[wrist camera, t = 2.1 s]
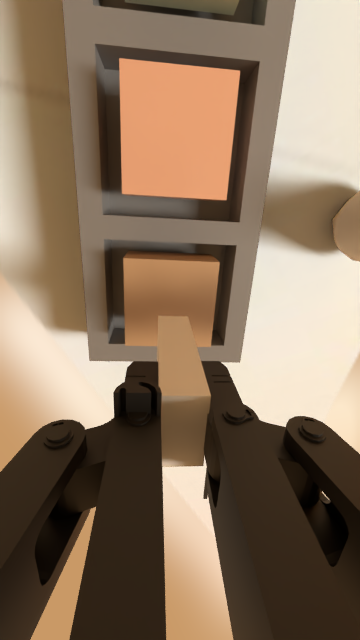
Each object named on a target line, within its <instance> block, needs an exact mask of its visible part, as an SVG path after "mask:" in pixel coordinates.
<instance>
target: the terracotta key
mask: <svg viewBox="0 0 360 640" xmlns="http://www.w3.org/2000/svg"><path fill="white" fill-rule="evenodd" d="M119 72H120V121H121V169H122V194H124V195H127V196H140V197H156V198H173V199H189V200H205V201H224V200H227V191H228V181H229V172H230V163H231V153H232V144H233V135H234V125H235V116H236V107H237V97H238V88H239V79H240V71H238V70H229V69H219V68H209V67H200V66H190V65H180V64H171V63H161V62H151V61H142V60H132V59H122V58H119Z"/></svg>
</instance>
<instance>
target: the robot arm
mask: <svg viewBox="0 0 360 640" xmlns="http://www.w3.org/2000/svg"><path fill="white" fill-rule="evenodd" d="M204 454H205V460H206V465H207V470H206V478H205V487H204V499H207V495H208V497H209V503H210V509H211V514H212V520H213V526H214V531H215V537H216V543H217V548H218V553H219V559H220V565H221V571H222V577H223V582H224V588H225V594H226V599H227V605H228V611H229V616H230V622H231V627H232V633H233V639H234V640H360V454H359V453H358V452H357V451H355V450H354V449H353V448H352V447H351V446H350V445H349V444H348V443H347V442H345V441H344V440H343V439H342V438H341V437H340V436H339V435H338V434H336V433H335V432H334V431H333V430H332V429H331V428H330V427H328V426H327V425H325V424H324V423H323V422H321V421H318V420H316V419H314V418H310V417H305V416H296V417H293V418H291V419H289V421H288V422H287V425H286V427H282V426H278V425H273V424H269V423H266V422H263V421H260V420H259V418H258V416H257V415H256V413H255V412H254V411H253V410H252V409H251V408H249V407H248V406H246V405H244V404H243V403H242V401H241V398H240V396H239V394H238V392H237V389H236V387H235V385H234V383H233V380H232V378H231V377H230V374H229V371H228V369H227V367H226V366H224V365H223V364H222V363H221V362H220V361H201V360H200V356H199V353H198V349H197V346H196V343H195V339H194V336H193V332H192V329H191V325H190V322H189V318H188V316H158V346H157V361H133V362H132V364H131V365H130V366H129V367H128V368H127V372H126V377H125V382H124V383H122V384H121V385H119V386H118V387H117V388H116V389H115V391H114V418H113V419H112V420H111V421H109V422H107V423H105V424H104V425H101V426H98V427H94V428H90V429H86V430H85V428H84V427H83V425H82V424H80V422H77V421H74V420H59V421H54V422H51V423H49V424H47V425H45V426H43V427H42V428H41V429H39V430H38V431H37V432H36V433H35V434H34V435H33V436H32V437H31V438H30V439H29V441H28V442H27V443H26V444H25V445H24V446H23V447H22V448H21V450H20V451H19V452H18V453H17V454H16V455H15V456H14V457H13V459H12V460H11V461H10V462H9V463H8V464H7V465H6V466H5V468H4V469H3V470H2V471H1V472H0V640H30V639H31V637H32V635H33V632H34V630H35V628H36V626H37V624H38V622H39V620H40V617H41V615H42V613H43V611H44V609H45V607H46V605H47V602H48V600H49V598H50V596H51V594H52V592H53V590H54V587H55V585H56V583H57V581H58V579H59V576H60V574H61V572H62V570H63V568H64V566H65V564H66V562H67V559H68V557H69V555H70V553H71V551H72V549H73V547H74V545H75V542H76V540H77V538H78V536H79V534H80V532H81V530H82V527H83V525H84V523H85V521H86V519H87V517H88V515H89V512H90V509H91V508H93V507H96V511H95V516H94V521H93V526H92V531H91V536H90V541H89V546H88V550H87V556H86V561H85V566H84V570H83V575H82V581H81V585H80V590H79V595H78V600H77V605H76V610H75V615H74V620H73V625H72V630H71V635H70V640H166V615H165V572H164V529H163V485H162V467H176V466H203V463H204ZM322 491H323V492H324V494H325V495H326V496H327V497H328V498H329V500H328V499H327V498H326V497H325V496H324V495H323V493H322Z"/></svg>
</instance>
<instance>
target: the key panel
mask: <svg viewBox="0 0 360 640" xmlns="http://www.w3.org/2000/svg"><path fill="white" fill-rule="evenodd" d="M62 2H63V16H64V29H65V42H66V55H67V69H68V82H69V95H70V108H71V122H72V135H73V148H74V161H75V175H76V188H77V201H78V214H79V228H80V241H81V254H82V267H83V281H84V294H85V307H86V320H87V334H88V347H89V360H90V361H157V346H125V314H124V265H123V258H124V256H125V255H126V253H127V252H128V251H150V252H172V253H195V254H211V255H212V256H214V257H215V258H216V259H217V260H218V261H219V262H220V265H219V275H218V284H217V293H216V303H215V312H214V322H213V331H212V340H211V347H197V349H198V353H199V356H200V360H201V361H220V362H240V359H241V352H242V346H243V339H244V333H245V326H246V320H247V313H248V307H249V300H250V294H251V287H252V281H253V274H254V268H255V261H256V255H257V248H258V242H259V235H260V229H261V222H262V216H263V209H264V203H265V196H266V190H267V183H268V177H269V170H270V164H271V157H272V151H273V144H274V138H275V131H276V125H277V119H278V112H279V106H280V99H281V93H282V86H283V80H284V73H285V67H286V60H287V54H288V47H289V41H290V34H291V28H292V21H293V15H294V8H295V2H296V0H239V3H238V5H237V8H236V10H235V13H234V15H226V14H218V13H210V12H201V11H193V10H185V9H177V8H168V7H160V6H152V5H143V4H135V3H127V2H125V0H62ZM119 58H122V59H132V60H142V61H151V62H161V63H171V64H180V65H190V66H200V67H209V68H219V69H229V70H238V71H240V79H239V88H238V97H237V107H236V116H235V125H234V135H233V144H232V153H231V163H230V172H229V181H228V191H227V200H224V201H205V200H189V199H173V198H156V197H140V196H127V195H124V194H122V169H121V121H120V72H119Z"/></svg>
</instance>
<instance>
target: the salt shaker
mask: <svg viewBox="0 0 360 640" xmlns="http://www.w3.org/2000/svg"><path fill="white" fill-rule="evenodd" d="M332 224H333V235H334V241H335V243H336V245H337V247H338V248H339V250H340V251H341V252H343V253H344V254H345V255H346V256H348V257H349V258H350V259H352V260H355V261H360V191H359V192H358V193H357V194H355V195H354V196H353V197H351V198H350V199H349V200H348V201H347V202H346V203H345V204H344V206H343V207H342V208H341V209H340V210H339V212H338V213H337V214H336V215H335V217H334V218H333V219H332Z"/></svg>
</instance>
